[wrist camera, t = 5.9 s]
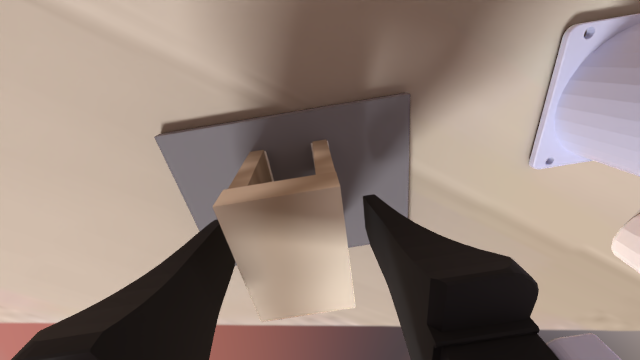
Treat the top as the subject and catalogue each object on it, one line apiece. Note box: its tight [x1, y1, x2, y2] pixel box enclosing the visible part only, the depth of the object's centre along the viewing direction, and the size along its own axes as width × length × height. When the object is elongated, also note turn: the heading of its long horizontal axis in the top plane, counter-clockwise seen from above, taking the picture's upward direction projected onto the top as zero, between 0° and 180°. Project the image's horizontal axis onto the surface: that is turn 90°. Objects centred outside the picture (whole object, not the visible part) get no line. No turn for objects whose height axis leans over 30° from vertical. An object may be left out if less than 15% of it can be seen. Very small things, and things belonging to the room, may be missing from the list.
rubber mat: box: [155, 93, 410, 266], centre depth 15 cm, size 14×10×1 cm
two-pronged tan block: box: [213, 139, 356, 322], centre depth 12 cm, size 4×6×6 cm
